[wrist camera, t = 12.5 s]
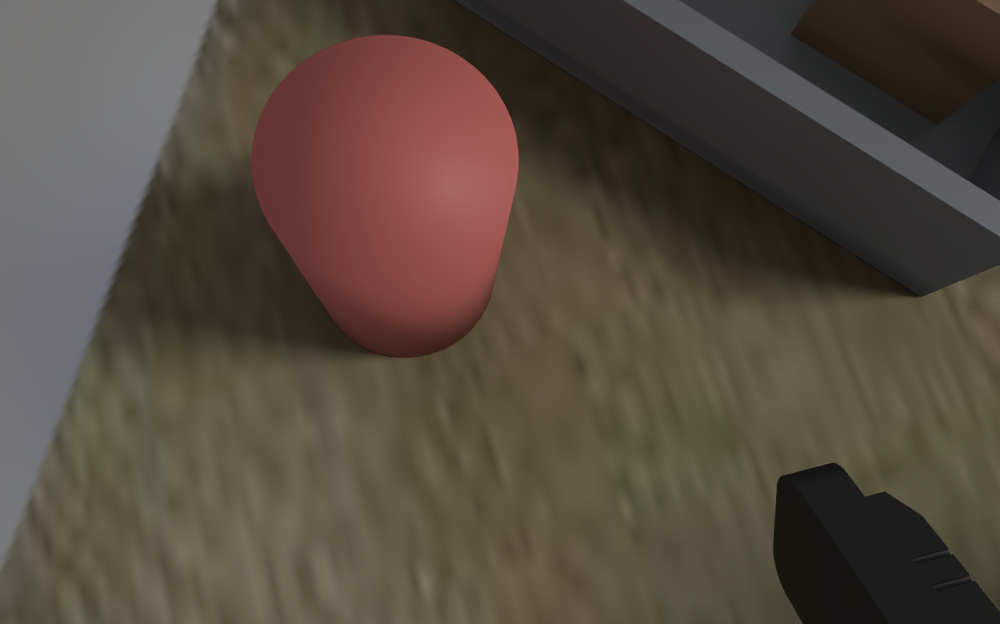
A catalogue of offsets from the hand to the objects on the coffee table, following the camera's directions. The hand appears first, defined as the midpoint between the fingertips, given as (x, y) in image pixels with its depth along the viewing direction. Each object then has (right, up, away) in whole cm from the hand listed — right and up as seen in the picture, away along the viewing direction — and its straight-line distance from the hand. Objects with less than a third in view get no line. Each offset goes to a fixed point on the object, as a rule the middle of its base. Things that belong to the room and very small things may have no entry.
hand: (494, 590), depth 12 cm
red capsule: (-3, +5, +14) cm, 15 cm away
